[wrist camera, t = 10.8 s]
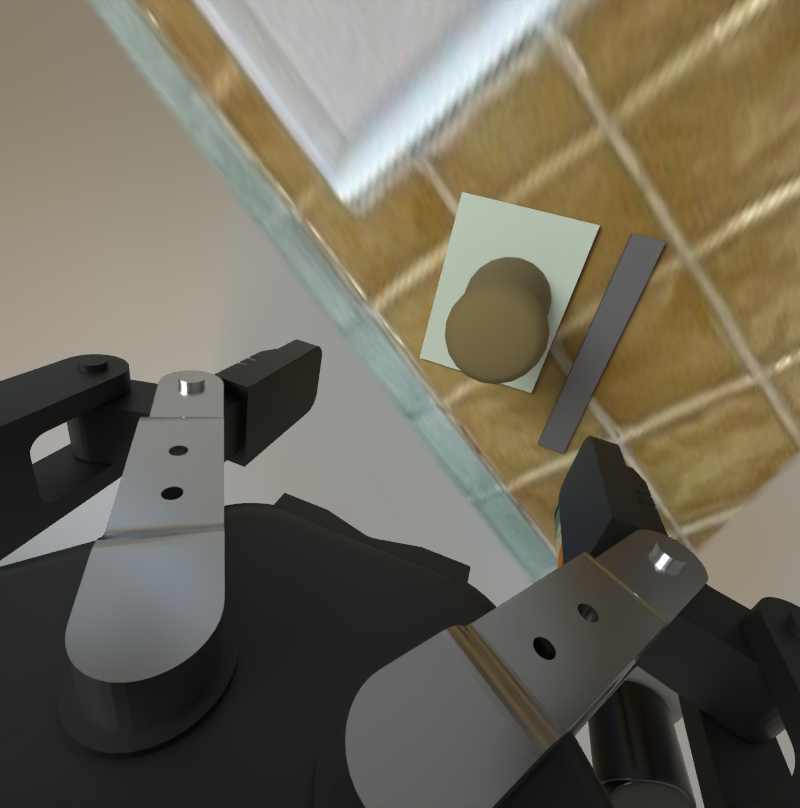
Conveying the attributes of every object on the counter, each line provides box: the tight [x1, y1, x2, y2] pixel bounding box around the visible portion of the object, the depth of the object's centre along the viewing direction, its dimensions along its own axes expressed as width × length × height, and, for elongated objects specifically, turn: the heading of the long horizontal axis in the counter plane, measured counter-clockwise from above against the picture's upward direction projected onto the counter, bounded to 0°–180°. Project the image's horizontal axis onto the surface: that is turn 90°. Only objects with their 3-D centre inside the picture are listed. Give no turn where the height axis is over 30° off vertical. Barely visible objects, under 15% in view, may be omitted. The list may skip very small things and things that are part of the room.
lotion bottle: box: [555, 501, 696, 808], centre depth 26 cm, size 6×6×20 cm
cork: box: [445, 257, 552, 384], centre depth 25 cm, size 6×6×11 cm
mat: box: [420, 192, 600, 393], centre depth 30 cm, size 12×9×1 cm
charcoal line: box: [538, 233, 666, 453], centre depth 29 cm, size 16×2×1 cm, turn 167°
